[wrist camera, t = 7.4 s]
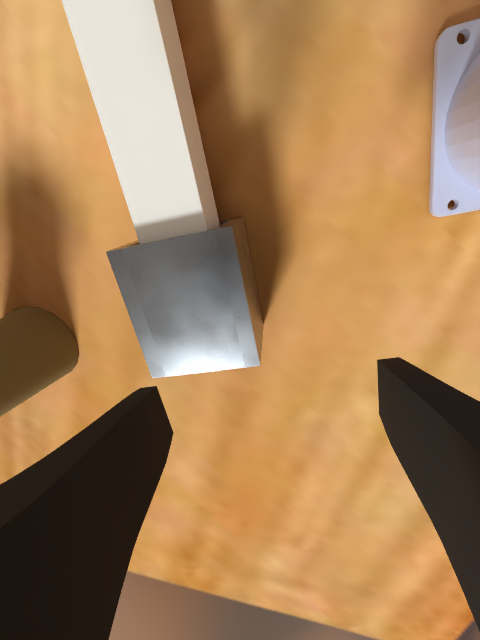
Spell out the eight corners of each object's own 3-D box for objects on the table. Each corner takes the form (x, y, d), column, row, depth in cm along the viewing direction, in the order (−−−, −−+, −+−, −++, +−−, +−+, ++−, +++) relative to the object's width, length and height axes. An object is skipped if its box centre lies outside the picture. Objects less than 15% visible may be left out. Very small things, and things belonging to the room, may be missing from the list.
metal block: (243, 217, 17) (231, 226, 13) (263, 324, 20) (260, 365, 15) (149, 236, 18) (105, 251, 14) (179, 336, 21) (152, 378, 16)
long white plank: (109, -290, 10) (37, -502, 7) (226, 248, 17) (215, 261, 14) (25, -242, 11) (-76, -419, 8) (170, 259, 18) (148, 273, 15)
